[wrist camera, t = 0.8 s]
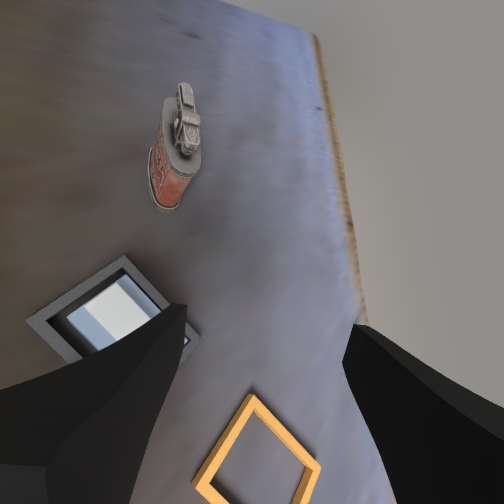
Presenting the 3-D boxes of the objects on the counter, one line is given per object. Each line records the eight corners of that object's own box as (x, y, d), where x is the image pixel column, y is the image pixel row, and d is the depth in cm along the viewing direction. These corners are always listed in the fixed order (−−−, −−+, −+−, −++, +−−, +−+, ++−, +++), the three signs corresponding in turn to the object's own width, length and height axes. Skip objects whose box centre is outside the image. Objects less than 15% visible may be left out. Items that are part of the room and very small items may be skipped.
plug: (132, 385, 21) (142, 393, 17) (70, 323, 20) (65, 315, 16) (173, 342, 24) (191, 339, 19) (120, 286, 23) (127, 271, 19)
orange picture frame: (274, 564, 22) (281, 572, 21) (191, 482, 21) (195, 488, 20) (314, 464, 27) (321, 467, 26) (248, 393, 25) (253, 394, 25)
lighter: (181, 213, 28) (217, 157, 20) (149, 211, 26) (174, 148, 18) (174, 153, 30) (204, 81, 22) (144, 146, 29) (165, 66, 21)
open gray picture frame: (127, 420, 20) (129, 423, 19) (27, 322, 19) (24, 320, 18) (199, 340, 25) (202, 339, 24) (122, 258, 24) (124, 254, 23)
